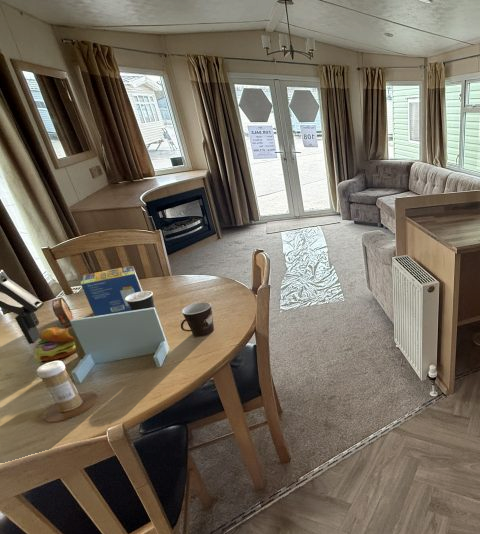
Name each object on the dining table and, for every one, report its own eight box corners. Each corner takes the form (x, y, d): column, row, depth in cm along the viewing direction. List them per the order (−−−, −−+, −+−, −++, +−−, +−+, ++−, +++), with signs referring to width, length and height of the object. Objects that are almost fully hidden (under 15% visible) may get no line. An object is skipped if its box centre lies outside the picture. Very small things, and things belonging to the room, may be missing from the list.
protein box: (96, 310, 134) (80, 275, 128) (145, 298, 144) (133, 265, 138) (95, 321, 127) (79, 284, 121) (147, 308, 137) (135, 273, 131)
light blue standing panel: (76, 384, 97) (52, 338, 91) (92, 363, 106) (71, 319, 99) (161, 366, 105) (144, 323, 99) (169, 348, 113) (154, 307, 107)
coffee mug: (209, 322, 128) (202, 299, 124) (222, 329, 124) (216, 306, 120) (175, 338, 119) (166, 313, 115) (188, 345, 115) (179, 320, 111)
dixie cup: (149, 314, 132) (140, 289, 128) (166, 317, 131) (158, 292, 127) (129, 325, 125) (118, 299, 121) (146, 328, 124) (136, 302, 119)
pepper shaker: (73, 360, 107) (58, 331, 102) (88, 348, 112) (74, 320, 108) (94, 358, 108) (81, 329, 103) (108, 347, 113) (96, 319, 109)
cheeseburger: (28, 358, 107) (25, 328, 105) (74, 347, 117) (72, 319, 115) (42, 367, 103) (39, 336, 101) (89, 355, 113) (87, 326, 111)
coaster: (37, 413, 88) (36, 412, 87) (87, 388, 96) (86, 387, 96) (54, 428, 84) (53, 427, 83) (105, 401, 92) (104, 400, 92)
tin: (74, 327, 123) (64, 307, 120) (61, 330, 121) (51, 310, 118) (72, 312, 133) (63, 293, 129) (60, 315, 130) (51, 296, 127)
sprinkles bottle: (85, 397, 92) (65, 357, 87) (80, 408, 89) (59, 367, 83) (62, 404, 90) (39, 363, 85) (56, 415, 87) (32, 374, 81)
